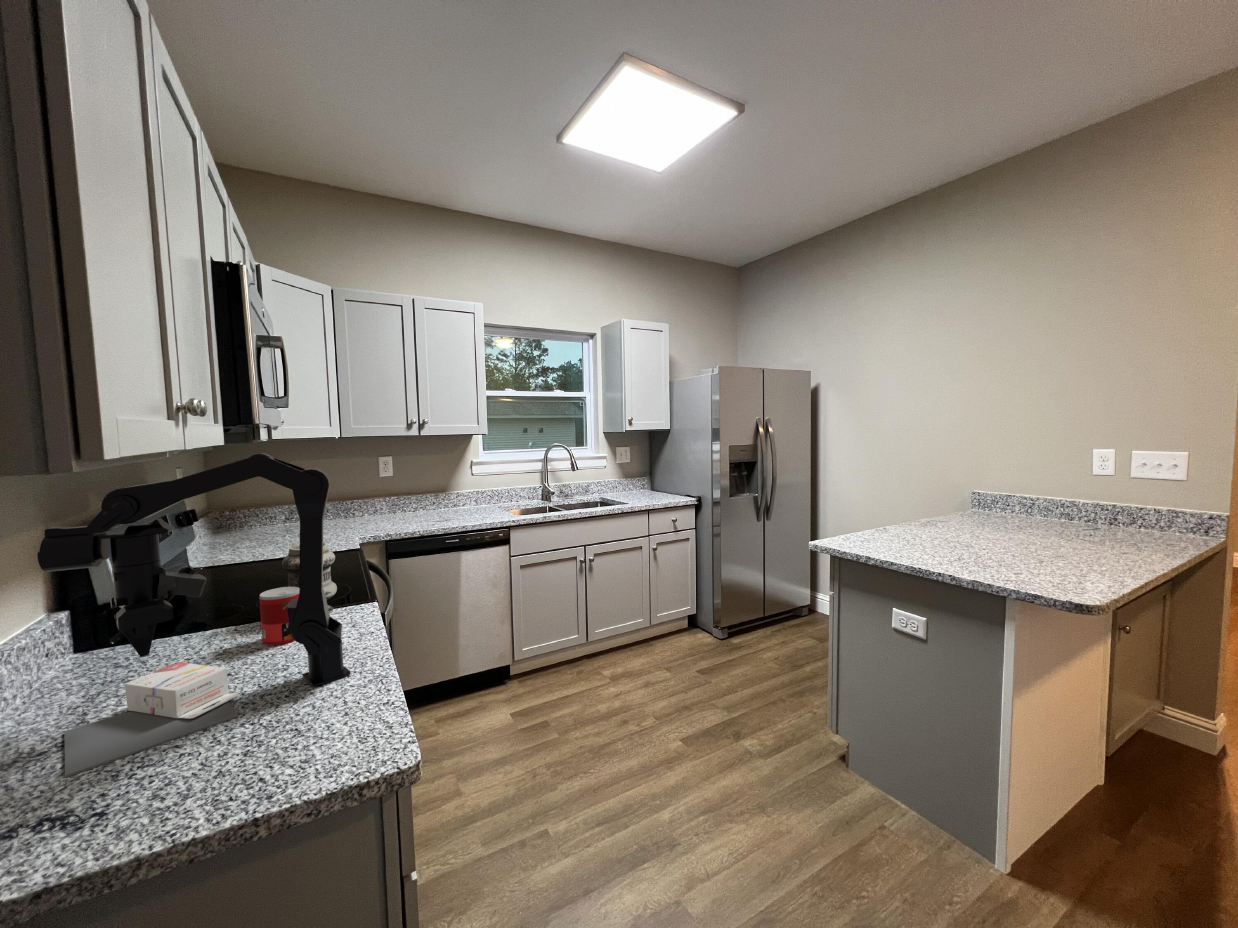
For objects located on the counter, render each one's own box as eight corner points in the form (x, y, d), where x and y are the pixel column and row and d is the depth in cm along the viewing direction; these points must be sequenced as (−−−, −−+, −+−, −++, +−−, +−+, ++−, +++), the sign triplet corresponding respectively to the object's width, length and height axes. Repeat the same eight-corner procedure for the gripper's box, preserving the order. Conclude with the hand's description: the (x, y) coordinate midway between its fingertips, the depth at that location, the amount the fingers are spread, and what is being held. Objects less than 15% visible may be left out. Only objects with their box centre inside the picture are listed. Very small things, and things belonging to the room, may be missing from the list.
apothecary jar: (330, 618, 127) (326, 548, 125) (276, 624, 123) (271, 552, 122) (343, 603, 138) (339, 538, 137) (294, 608, 135) (289, 542, 134)
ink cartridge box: (179, 659, 92) (241, 667, 88) (181, 686, 92) (243, 695, 88) (123, 682, 84) (188, 692, 80) (125, 711, 84) (190, 722, 80)
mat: (238, 716, 82) (237, 714, 82) (65, 777, 68) (65, 775, 68) (217, 685, 93) (217, 684, 93) (64, 732, 78) (64, 731, 78)
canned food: (289, 645, 110) (285, 596, 109) (253, 646, 110) (249, 597, 110) (311, 631, 118) (308, 586, 117) (277, 632, 118) (274, 586, 117)
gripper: (210, 561, 82) (217, 654, 83) (190, 546, 94) (197, 627, 95) (114, 576, 74) (123, 679, 74) (106, 557, 86) (114, 646, 87)
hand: (144, 655), depth 83 cm, fingers closed
